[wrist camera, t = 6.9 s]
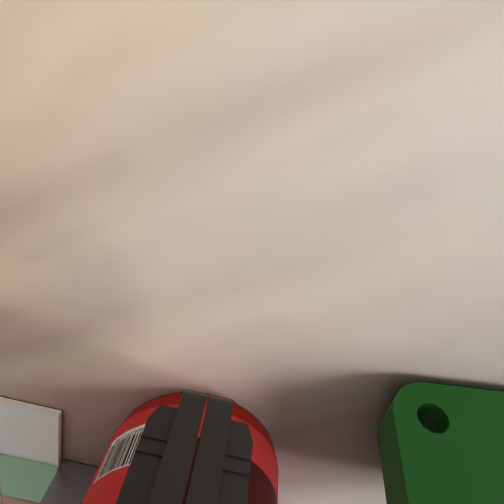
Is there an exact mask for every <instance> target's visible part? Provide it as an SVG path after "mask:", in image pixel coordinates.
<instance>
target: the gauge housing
mask: <svg viewBox="0 0 504 504" xmlns="http://www.w3.org/2000/svg"><path fill="white" fill-rule="evenodd" d="M97 470H98V467H94V466H89V465H85V464H80V463H76V462H71V461H67V460H63V461H62V463H61V465H60V467H59V469H58V470H57V472H56V474H55V476H54V478H53V480H52V481H51V483H50V485H49V487H48V489H47V491H46V492H45V494H44V496H43V498H42V500H41V502H40V503H39V504H82V502H83V500H84V498H85V496H86V494H87V491H88V489H89V487H90V485H91V483H92V481H93V478H94V476H95V474H96V472H97Z"/></svg>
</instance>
